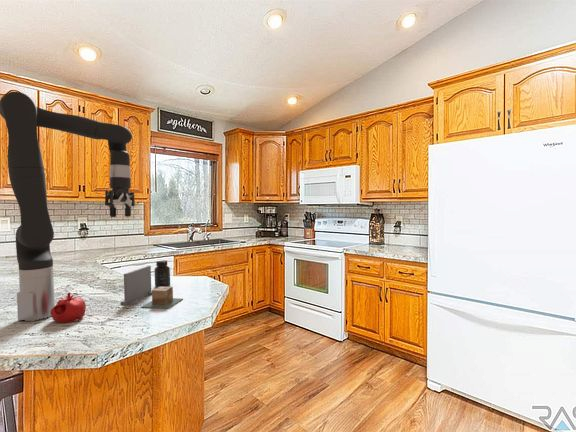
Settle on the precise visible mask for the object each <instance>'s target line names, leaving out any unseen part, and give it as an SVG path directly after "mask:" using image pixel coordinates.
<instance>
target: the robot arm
mask: <svg viewBox="0 0 576 432" xmlns="http://www.w3.org/2000/svg"><path fill="white" fill-rule="evenodd" d="M0 116H1V117H2V118H3V119H4V121H5V125H6V130H7V135H8V142H7V143H8V144H7V170H8V176H9V183H10V185H11V189H12V191H13V194H14V197H15V199H16V202H17V204H18V208H19V213H20V225H19V226H18V227H17V229H16V232H15V246H16V247H15V250H16V259H17V264H18V284H19V291H18V292H17V293H16V304H17V306H16V308H17V321H18V320H25V321H24V322H36V321H39V319H40V320H44V319H47V317H48V318H51V317H52V316H51V313H50V312H51V309H52V308H53V307H55V306H56V305H55V281H54V280H55V279H54V259H53V257H52V254H51V247H50V244H51V243H52V241H53V239H54V237H55V236H54V235H55V232H54V228H53V224H52V220H51V216H50V212H49V209H48V195H47V183H46V175H45V174H46V173H45V166H44V161H43V157H42V151H41V147H40V143H39V138H38V127H39V128H45V129H51V130H57V131H61V132H64V133H69V134H73V135H77V136H81V137H84V138H89V139H93V140H106V141H107V146H108V151H109V153H110V154H109V156H110V157H109V161H110V163H109V166H110V167H109V188H110V189H111V190H110V189H108V190H105V194H104V195H105V197H104V198H105V199H104V206H105V207H106V206H107V207H108V208H109V217H110V218H117V206H118V204H119V203H122V204H123V205H124V216H125V218H127V217H128V218H129V217H131V215H132V208H133V207H134V206H135V205H136V201H135V192H134V191H129V190H130V189H131V188H132V186H131V183H132V181H131V180H132V177H131V172H132V171H131V163H130V162H131V161H130V160H131V158H130V153H129V152H128V151H127V144H129V143H131V141H132V140H133V135H132V132H131V131H130V129H129V128H127V127H125V126H124V125H120V124H115V123H107V122H103V121H102V122H101V121H98V120H95V119H91V118H88V117H84V116H80V115H75V114H68V113H61V112H55V111H51V110H47V109H44V108H41V107H38V106H37V105H36V103H35V101H34V100H33V98H31V97H30V96H29V95H27V94H25V93H24V92H20V91H9V92H6V93H5V94H4V95H3V96H2V97H1V98H0ZM43 318H44V319H43ZM35 320H36V321H35Z"/></svg>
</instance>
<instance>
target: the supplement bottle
mask: <svg viewBox="0 0 576 432" xmlns="http://www.w3.org/2000/svg"><path fill="white" fill-rule="evenodd" d="M155 265H156V267H155V268H154V270H153V271H154V274H153V275H154V287H155V289H156V288H158V287H171V268H170V267H169V266H168V260H164V259H163V260H157V261H156V264H155Z"/></svg>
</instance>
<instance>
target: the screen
mask: <svg viewBox="0 0 576 432" xmlns="http://www.w3.org/2000/svg"><path fill="white" fill-rule="evenodd" d="M151 267H152V266H151V265H146V266H143V267H141V268H136V269H134V270H132V271H128V272H126V273H123V291H124V292H123V293H124V299H123V300H122V301H120V305H125V306H129V305H130V306H133V305H135V304H137V301H138V300H140V299H142V298H144V297H147V296H152V271H151V270H152V268H151Z"/></svg>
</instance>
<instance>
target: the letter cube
mask: <svg viewBox="0 0 576 432" xmlns="http://www.w3.org/2000/svg"><path fill="white" fill-rule="evenodd" d="M151 291H152V295H151V301H152V305H167V304H168V303H170V302H172V301H173V298H174V287H173V286H168V287H158V288H156V287H155V288H154V289H151Z"/></svg>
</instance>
